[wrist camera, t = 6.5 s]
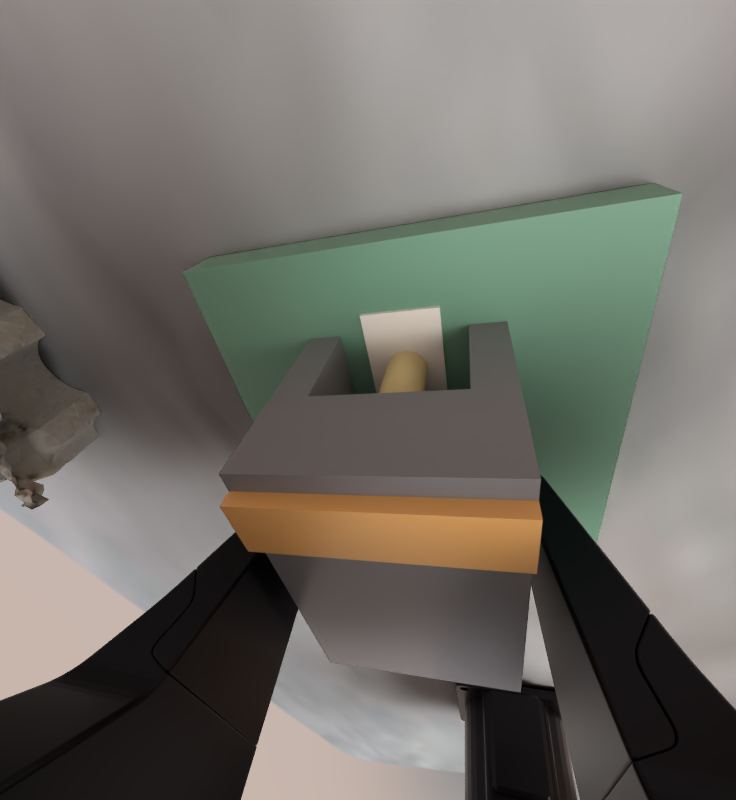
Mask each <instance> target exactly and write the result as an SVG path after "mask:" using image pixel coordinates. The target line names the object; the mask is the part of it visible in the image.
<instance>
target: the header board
mask: <svg viewBox="0 0 736 800" xmlns="http://www.w3.org/2000/svg"><path fill="white" fill-rule="evenodd" d="M682 194H683V193H680V192H678V191H675V190H672V189H670V188H667V187H664V186H661V185H659V184H656V183H650V184H644V185H638V186H632V187H627V188H621V189H615V190H609V191H603V192H597V193H591V194H585V195H579V196H573V197H567V198H561V199H555V200H549V201H543V202H537V203H531V204H525V205H519V206H513V207H507V208H501V209H495V210H489V211H483V212H477V213H471V214H465V215H460V216H454V217H448V218H442V219H436V220H430V221H424V222H418V223H412V224H406V225H400V226H394V227H388V228H382V229H376V230H370V231H364V232H358V233H352V234H346V235H340V236H334V237H328V238H322V239H316V240H310V241H304V242H298V243H293V244H287V245H281V246H275V247H269V248H263V249H257V250H251V251H245V252H239V253H233V254H227V255H221V256H215V257H209V258H207V259H205V260H204V261H202V262H200V263H198V264H197V265H195V266H193V267H191V268H190V269H188V270H186V271H184V272H183V275H184V277H185V279H186V281H187V284H188V286H189V288H190V290H191V292H192V294H193V296H194V298H195V301H196V303H197V305H198V307H199V309H200V311H201V313H202V315H203V318H204V320H205V322H206V324H207V326H208V328H209V330H210V332H211V335H212V337H213V339H214V341H215V343H216V345H217V347H218V350H219V352H220V354H221V356H222V358H223V360H224V362H225V364H226V367H227V369H228V371H229V373H230V375H231V377H232V379H233V381H234V384H235V386H236V388H237V390H238V392H239V394H240V396H241V398H242V401H243V403H244V405H245V407H246V409H247V411H248V413H249V415H250V418H251V420H252V422H253V423H254V421H255V420H256V418H257V417H258V415H259V414H260V412H261V411H262V409H263V408H264V406H265V405H266V403H267V402H268V400H269V399H270V398H271V396H272V395H273V393H274V392H275V390H276V389H277V387H278V386H279V384H280V383H281V381H282V380H283V378H284V377H285V375H286V374H287V372H288V371H289V369H290V368H291V366H292V365H293V363H294V362H295V361H296V359H297V358H298V356H299V355H300V353H301V352H302V350H303V349H304V347H305V346H306V344H307V343H308V341H309V340H310V339H314V338H325V337H336V336H341V340H342V343H343V347H344V351H345V355H346V359H347V363H348V367H349V371H350V375H351V378H352V382H353V386H354V390H355V394H372V393H394V392H416V391H438V390H460V389H471V386H470V350H469V325H470V324H481V323H493V322H504V321H507V322H508V327H509V331H510V336H511V341H512V346H513V350H514V355H515V360H516V364H517V369H518V374H519V378H520V383H521V388H522V392H523V397H524V402H525V407H526V411H527V416H528V421H529V425H530V430H531V435H532V439H533V444H534V449H535V453H536V458H537V463H538V468H539V472H540V475H542V476H543V477H544V478H545V479H546V481H547V482H548V483H549V484H550V486H551V487H552V488H553V489H554V491H555V492H556V493H557V494H558V496H559V497H560V498H561V499H562V501H563V502H564V503H565V504H566V506H567V507H568V508H569V509H570V511H571V512H572V513H573V514H574V516H575V517H576V518H577V519H578V521H579V522H580V523H581V525H582V526H583V527H584V528H585V530H586V531H587V532H588V533H589V535H590V536H591V537H592V538H593V540H594V541H595V542H596V543H597V540H598V535H599V531H600V527H601V523H602V519H603V515H604V511H605V507H606V503H607V499H608V495H609V491H610V487H611V483H612V479H613V475H614V470H615V466H616V462H617V458H618V454H619V450H620V446H621V442H622V438H623V434H624V430H625V426H626V422H627V418H628V414H629V410H630V405H631V401H632V397H633V393H634V389H635V385H636V381H637V377H638V373H639V369H640V365H641V361H642V357H643V353H644V349H645V344H646V340H647V336H648V332H649V328H650V324H651V320H652V316H653V312H654V308H655V304H656V300H657V296H658V292H659V288H660V284H661V279H662V275H663V271H664V267H665V263H666V259H667V255H668V251H669V247H670V243H671V239H672V235H673V231H674V227H675V223H676V218H677V214H678V210H679V206H680V202H681V198H682Z"/></svg>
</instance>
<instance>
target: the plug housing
mask: <svg viewBox="0 0 736 800" xmlns="http://www.w3.org/2000/svg"><path fill="white" fill-rule="evenodd" d="M469 350H470V386H471V389H460V390H438V391H416V392H394V393H372V394H355V390H354V386H353V382H352V378H351V375H350V371H349V367H348V363H347V359H346V355H345V351H344V347H343V343H342V340H341V336H336V337H325V338H314V339H310V340H309V341H308V343H307V344H306V346H305V347H304V349H303V350H302V352H301V353H300V355H299V356H298V358H297V359H296V361H295V362H294V363H293V365H292V366H291V368H290V369H289V371H288V372H287V374H286V375H285V377H284V378H283V380H282V381H281V383H280V384H279V386H278V387H277V389H276V390H275V392H274V393H273V395H272V396H271V398H270V399H269V400H268V402H267V403H266V405H265V406H264V408H263V409H262V411H261V412H260V414H259V415H258V417H257V418H256V420H255V421H254V423H253V424H252V426H251V427H250V429H249V430H248V432H247V433H246V434H245V436H244V437H243V439H242V440H241V442H240V443H239V445H238V446H237V448H236V449H235V451H234V452H233V454H232V455H231V457H230V458H229V460H228V461H227V463H226V464H225V466H224V467H223V469H222V470H221V471H220V473H219V475H220V477H221V479H222V480H223V482H224V484H225V485H226V487H227V489H228V490H229V492H228V494H227V495H226V497H225V499H224V500H223V502H222V503H221V505H220V508H221V509H222V511H223V513H224V514H225V516H226V517H227V519H228V520H229V522H230V524H231V525H232V527H233V528H234V530H235V531H236V533H237V535H238V536H239V538H240V539H241V541H242V543H243V544H244V546H245V547H246V549H247V550H248V552H261V553H266V555H267V556H268V558H269V560H270V561H271V563H272V565H273V567H274V568H275V570H276V572H277V573H278V575H279V577H280V578H281V580H282V582H283V583H284V585H285V587H286V588H287V590H288V592H289V594H290V595H291V597H292V599H293V600H294V602H295V604H296V605H297V607H298V609H299V610H300V612H301V614H302V616H303V617H304V619H305V621H306V622H307V624H308V626H309V627H310V629H311V631H312V632H313V634H314V636H315V637H316V639H317V641H318V643H319V644H320V646H321V648H322V649H323V651H324V653H325V654H326V656H327V658H328V659H329V661H330V662H331V663H337V664H344V665H350V666H356V667H363V668H369V669H375V670H382V671H388V672H394V673H401V674H407V675H413V676H420V677H426V678H432V679H439V680H445V681H451V682H458V683H464V684H470V685H477V686H483V687H489V688H496V689H502V690H508V691H515V692H521V684H522V674H523V663H524V653H525V642H526V632H527V621H528V611H529V600H530V589H531V579H532V574H537V569H538V560H539V550H540V541H541V532H542V523H543V519H542V514H541V509H540V504H539V494H540V484H541V477H540V472H539V468H538V463H537V458H536V453H535V449H534V444H533V439H532V435H531V430H530V425H529V421H528V416H527V411H526V407H525V402H524V397H523V392H522V388H521V383H520V378H519V374H518V369H517V364H516V360H515V355H514V350H513V346H512V341H511V336H510V331H509V327H508V322H507V321H504V322H493V323H481V324H470V325H469Z"/></svg>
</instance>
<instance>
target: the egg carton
mask: <svg viewBox="0 0 736 800" xmlns="http://www.w3.org/2000/svg"><path fill="white" fill-rule="evenodd" d="M43 337H45V334H44V333H43V331H42V330H41V329H40V328H39V327H38V326H37V325H36V324H35V322H34V321H33V320H32V319H31V318H30V317H29V316H28V315H27V314H26V312H25V311H24V310H23V309H22V308H21V307H19V306H15V305H12V304H9V303H7V302H5V301H3V300H0V482H2V481H4V480H7V479H8V480H10V481H12V482H13V483H14V485H15V486H16V490H15V496H16V497H18V498H19V499H20V500H22V501H23V502H24V504H23V505H21V506H23V507H24V506H26V507H28V508H30V509H34V508H36V507H38V506H40V505H42V504H43V503H45V502H46V501H47V500H49V499H47V498H45V497H43V496H42V494H43V491H44V486H43V485H42V484H39V483H36V482H33V481H36V480H39V479H42V478H45V477H48V476H51V475H54V474H55V473H56V472H58V471H59V470H60V469H61V468H62V467H63V466H64V465H65V464H66V463H67V462H69V461H71V460H72V459H73V458H74V457H75V456H77V455H78V454H79V453H80V452H81V451H82V450H83V449H84V448H85V447H87V446H88V445H89V444H90V443H91V442H93V441H94V440H95V439H96V438H97V437H98V434H97V432H96V429H95V427H94V420H95V418H97V417H98V416H99V415H100V414H101V412H100V409H99V407H98V406H97V404H96V403H95V402H94V400H93V399H92V398H91V397H90V395H89V394H88V393H87V392H84V391H80V390H77V389H74V388H72V387H70V386H68V385H66V384H64V383H63V382H61V381H60V380H58V379H57V378H56V377H55V376H54V375H53V374H52V373H51V372H50V371H49V370H48V369H47V368H46V367H45V366H44V364H43V362H42V361H41V359H40V356H39V353H38V342H39V341H40V339H41V338H43Z"/></svg>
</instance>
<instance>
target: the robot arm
mask: <svg viewBox="0 0 736 800" xmlns="http://www.w3.org/2000/svg"><path fill="white" fill-rule="evenodd" d="M540 477H541V484H540V494H539V504H540V509H541V514H542V519H543V523H542V532H541V541H540V550H539V560H538V569H537V574H532V579H531V586H532V591H533V595H534V599H535V604H536V608H537V613H538V617H539V621H540V626H541V630H542V634H543V639H544V643H545V648H546V652H547V656H548V661H549V665H550V670H551V674H552V678H553V683H554V687H555V691H556V692H552V691H545V690H539V689H532V688H526V687H521V692H515V691H508V690H502V689H496V688H489V687H483V686H477V685H470V684H464V683H458V682H456V693H457V699H458V705H459V711H460V717H461V720H463V721H465V800H577V796H576V790H575V784H574V778H573V772H572V766H573V770H574V775H575V779H576V783H577V788H578V792H579V796H580V800H736V709H735V708H734V707H733V706H732V705H731V704H730V703H729V702H728V701H727V700H726V699H725V697H724V696H723V695H722V694H721V693H720V692H719V691H718V690H717V689H716V688H715V686H714V685H713V684H712V683H711V682H710V681H709V680H708V679H707V678H706V677H705V676H704V674H703V673H702V672H701V671H700V670H699V669H698V668H697V667H696V666H695V664H694V663H693V662H692V661H691V660H690V658H689V657H688V656H687V655H686V654H685V652H684V651H683V650H682V649H681V648H680V646H679V645H678V644H677V643H676V642H675V641H674V639H673V638H672V637H671V636H670V635H669V633H668V632H667V631H666V629H665V628H664V627H663V626H662V624H661V623H660V622H659V621H658V619H657V618H656V617H655V616H654V615H653V614H650V610H649V608H648V607H647V606H646V605H645V603H644V602H643V601H642V600H641V598H640V597H639V596H638V595H637V593H636V592H635V591H634V590H633V588H632V587H631V586H630V585H629V583H628V582H627V581H626V580H625V578H624V577H623V576H622V575H621V573H620V572H619V571H618V570H617V568H616V567H615V566H614V565H613V563H612V562H611V561H610V560H609V558H608V557H607V556H606V555H605V553H604V552H603V551H602V550H601V548H600V547H599V546H598V545H597V543H596V542H595V541H594V540H593V538H592V537H591V536H590V535H589V533H588V532H587V531H586V530H585V528H584V527H583V526H582V525H581V523H580V522H579V521H578V519H577V518H576V517H575V516H574V514H573V513H572V512H571V511H570V509H569V508H568V507H567V506H566V504H565V503H564V502H563V501H562V499H561V498H560V497H559V496H558V494H557V493H556V492H555V491H554V489H553V488H552V487H551V486H550V484H549V483H548V482H547V481H546V479H545V478H544V477H543V476H542V475H540ZM297 611H298V607H297V605H296V604H295V602H294V600H293V599H292V597H291V595H290V594H289V592H288V590H287V588H286V587H285V585H284V583H283V582H282V580H281V578H280V577H279V575H278V573H277V572H276V570H275V568H274V567H273V565H272V563H271V561H270V560H269V558H268V556H267V555H266V553H261V552H248V550H247V549H246V547H245V546H244V544H243V543H242V541H241V539H240V538H239V536H238V535H237V533H236V532H235V533H234V534H233V535H232V536H231V537H230V538H228V539H227V540H226V541H225V542H224V543H223V544H222V545H221V546H220V547H219V548H218V549H216V550H215V551H214V552H213V553H212V554H211V555H210V556H209V557H208V558H207V559H206V560H204V561H203V562H202V563H201V564H200V565H199V566H198V567H197V569H195V570H193V571H192V572H191V573H190V574H189V575H188V576H187V577H186V578H185V579H184V580H183V581H181V582H180V583H179V584H178V585H177V586H176V587H175V588H174V589H172V590H171V591H170V592H169V593H168V594H167V595H166V596H164V597H163V598H162V599H161V600H160V601H159V602H157V603H156V604H155V605H154V606H153V607H151V608H150V609H149V610H148V611H146V612H145V613H144V614H143V615H142V616H140V617H139V618H138V619H137V620H136V621H134V622H133V623H132V624H130V625H129V626H128V627H127V628H125V629H124V630H123V631H122V632H120V633H119V634H118V635H117V636H116V637H114V638H113V639H112V640H110V641H109V642H108V643H107V644H105V645H104V646H103V647H102V648H101V649H99V650H98V651H97V652H96V653H94V654H93V655H92V656H90V657H89V658H88V659H86V660H85V661H84V662H82V663H81V664H80V665H78V666H77V667H75V668H74V669H72V670H70V671H69V672H67V673H65V674H64V675H62V676H60V677H58V678H56V679H54V680H52V681H50V682H47V683H45V684H42V685H39V686H37V687H34V688H32V689H29V690H26V691H24V692H21V693H19V694H16V695H14V696H11V697H8V698H6V699H3V700H1V701H0V800H241V797H242V794H243V790H244V787H245V783H246V780H247V777H248V774H249V770H250V767H251V764H252V760H253V757H254V754H255V750H256V745H257V743H258V740H259V736H260V733H261V730H262V727H263V723H264V720H265V717H266V714H267V710H268V707H269V704H270V700H271V697H272V694H273V690H274V687H275V684H276V681H277V677H278V674H279V671H280V667H281V664H282V661H283V657H284V654H285V651H286V647H287V644H288V641H289V638H290V634H291V631H292V628H293V624H294V621H295V618H296V614H297ZM649 614H650V615H649ZM570 757H571V759H570ZM571 762H572V765H571Z"/></svg>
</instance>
